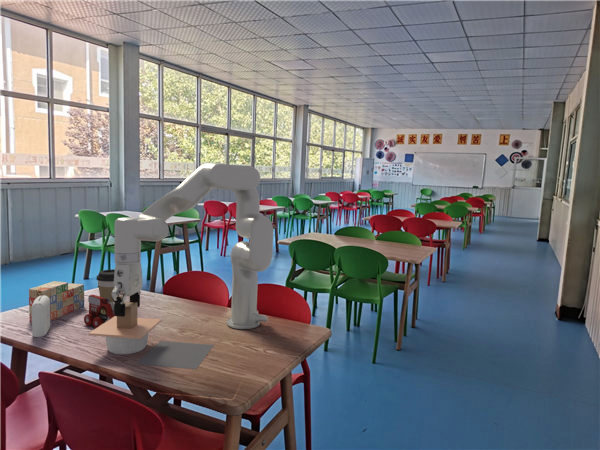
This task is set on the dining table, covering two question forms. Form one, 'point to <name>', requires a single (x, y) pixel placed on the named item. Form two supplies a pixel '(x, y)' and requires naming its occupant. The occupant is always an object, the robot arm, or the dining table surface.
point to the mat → (176, 355)
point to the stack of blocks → (59, 297)
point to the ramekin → (126, 344)
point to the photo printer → (40, 316)
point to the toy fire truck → (98, 311)
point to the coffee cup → (106, 285)
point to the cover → (126, 325)
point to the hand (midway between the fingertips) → (127, 311)
